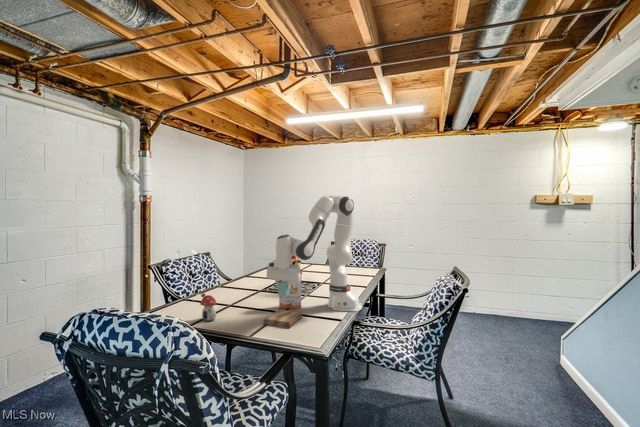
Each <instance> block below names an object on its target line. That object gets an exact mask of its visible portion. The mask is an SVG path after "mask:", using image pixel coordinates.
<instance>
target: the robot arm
mask: <svg viewBox="0 0 640 427" xmlns="http://www.w3.org/2000/svg"><path fill="white" fill-rule="evenodd" d="M354 202H355V201H354V200H353V199H352V198H351V197H349V196H343V195H330V196H328V195H324V196H321V197H320V198H319V199H318V200H317V201H316V203H315V204H314V206H312V209H311V210H310V212H309V213H308V221H309V222H310V224H311V225H312V227H311V230H310V231H309V233H308V236H307V237H306V239H305V240H300V239H296V238H294V237H292V236H291V235H290V234H282V235H279V236H278V237H276V241H275V253H276V256H275V260H273V261H270V262H268V263H267V269H266V278H267V279H268V280H274V282H275V285H276V288H277V289H278V283H279V280H283V281H289V285H287V289H290V288H291V284H292V282H299V281H300V280H301V281H302V274H301V267H300V265H298V264H293V263H292V257H295V258H298V259H300V260H302V261H307V260H310V259H311V258H312V257H313V256H314V254H315V250H316V246H317V243H319V240H320V238H321V236H322V233H324V232H323V231H324V229H325V226H326V223H327V220H328V219H329V217H330V214H332V213H334V214H337V215H336V216H337V218H336V222H335V227H334V228H335V229H334V233H333V236H334V237H333V238H334V244H332V245H330V246H328V248H327V249H326V256H327V260H328V266H329V277H330V278H329V279H330V280H329V288H328V290H329V296H328V302H327V307H328V308H330V309H331V310H332V311H338V312H339V311H340V312H355V313H357V312H359V311H361V310H362V309H363V304H362V303H361V302H360V300H359V297H358V296H357V295H356V294H355V293H354V292H353V291H352V290H351V285H349V284H348V271H347V268H346V266H348V265H349V264H351V263H352V260H353V253H352V246H351V244H352V243H351V242H352V234H353V226H354V221H355V220H354V219H355V217H354V207H355V203H354Z"/></svg>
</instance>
